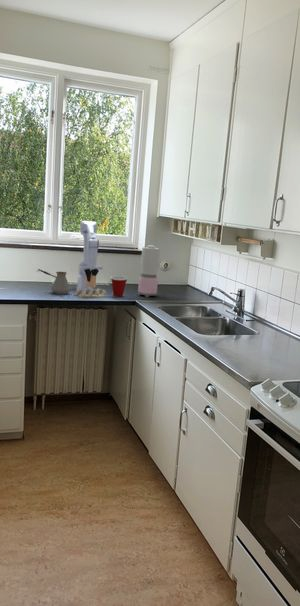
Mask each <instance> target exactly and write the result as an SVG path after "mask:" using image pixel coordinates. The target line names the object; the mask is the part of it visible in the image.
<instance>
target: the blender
mask: <svg viewBox="0 0 300 606" xmlns="http://www.w3.org/2000/svg"><path fill="white" fill-rule="evenodd" d="M140 257H141V258H140V269H141V270H140V271H141V274H140V276H139V278H138V286H137V287H138V288H137V295H138V296H139V297H140V296H141V295H143V296H145V298H149V297H150V296H155V297H157V293H158V283H159V282H158V281H159V280H158V278H157V272H158V268H159V264H160V263H159V262H160V248H158V247H156V246H155V245H148V244H147V245H146V246H142V248H141V255H140Z"/></svg>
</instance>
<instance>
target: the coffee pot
mask: <svg viewBox="0 0 300 606" xmlns="http://www.w3.org/2000/svg"><path fill="white" fill-rule="evenodd" d="M39 272H40V273H41V272H42V273H43V274H45V275H48V276H51V277H53V278H55V279H54V281H53V283H52V286H51V291H52V292H53V293H54V294H56V295H67V294H68V293H69V292H70V291H71V287H70V285H69V282H68V279H67V277H66V275H67V271H56V272H55V273H56V275H55V274H54V275H53V274H51V273H49V272H48V271H45V270H43V269H39V268H38V269H37V273H39Z"/></svg>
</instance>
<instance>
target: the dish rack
mask: <svg viewBox="0 0 300 606" xmlns="http://www.w3.org/2000/svg"><path fill="white" fill-rule="evenodd" d="M95 288H96V287H95ZM74 296H77V297H79V298H82V299H90V298H107V297H108V294H107V290H104V289H102V288H101V289H100V288H96V289H94V288H92V287H91V288H90V290H86V289H83V290H80V289H77V288H76V290H75V292H74Z"/></svg>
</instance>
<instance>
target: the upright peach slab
mask: <svg viewBox="0 0 300 606" xmlns="http://www.w3.org/2000/svg"><path fill="white" fill-rule="evenodd" d="M85 285H86V286H89V287H91V289H94V288H96V285H97V275H96V276H95V275H92V274H91V277H90V282H88V281H87V276H86V282H85Z"/></svg>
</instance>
